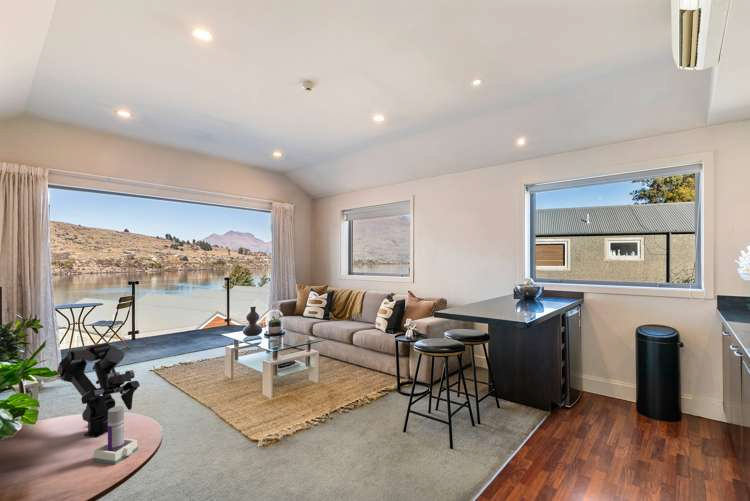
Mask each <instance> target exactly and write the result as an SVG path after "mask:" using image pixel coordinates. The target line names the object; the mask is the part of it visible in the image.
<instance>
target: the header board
mask: <svg viewBox="0 0 750 501" xmlns="http://www.w3.org/2000/svg"><path fill="white" fill-rule="evenodd" d="M137 451H139V446H138V440H137V439H132V438H131V439H130V438H125V437H124V447H123V448H121V449H120V450H118V451H116V452H112V451H108V442H107V443H105V444H103V445H102V446H100V447H98V448H97V449H95V450H94V451H93V453H94V455H93V456H94V457H93V460H92V461H93V462H97V463H103V464H108V465H109V464H111V465H117V464H118V463H120V462H122V461H123V460H125V459H126V458H127V457H129V456H131V455H132V454H134V453H136V452H137Z"/></svg>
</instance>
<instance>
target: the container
mask: <svg viewBox="0 0 750 501" xmlns="http://www.w3.org/2000/svg"><path fill="white" fill-rule="evenodd" d="M124 438H125V407H124V406H122V405H118V406H115V407H113V408H111V409H109V410H108V432H107V443H108V451H112V452H116V451H118V450H120V449H121V448H123V447H124Z"/></svg>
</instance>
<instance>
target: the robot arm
mask: <svg viewBox="0 0 750 501" xmlns="http://www.w3.org/2000/svg"><path fill="white" fill-rule="evenodd" d="M124 358H125V353H124V351H123V350H121V349H119V348H116V346H115V345H113V346H111V344H110V343H108V342H103V343H99V344H95V345H90V346H87V347H85V348H77V349H73V350H70V351H68V352H67V353H66V356H65V357H64V358H63V359H62V360H61V361H60V362H59V364H58V367H57V369H56V370H57V371H56V373H57V372H58V373H59V374H60V376H58V377H59V379H61V380H62V381H63V382H65V383H66V382H67V383H71V384H72V385H73V386H74V388H75V389H76V391H78V393H79V395H80V396H81V400H80V401H81V403H82V405H85V404H86V406H85V409H84V411H82V414H81V416H82V417H81V418H82V420H83V421H84V422H87V432H85V433H83V436H87V437H94V438H95V437H96V438H99V437H100V436H102V435H103V434H105V433H108V410H109V409H111V408H113V407H116V400H115V399H114V398H113V397H112V394H117V393H119V394H121V395H120V399H121V400H122V401H123V404H124V405H125V407H126V408H127V410H128V411H131V410H132V408H133V397H134V393H135V392H136V391H137V390H138V388H139V387H140V383H139V381H138V380H133V379H135V376H136V375H135V372H134V370H133V369H132V370H125V373H120V372H119V371H118V372H117V371H116V367H117V366H118V365H119V364H120V363H121V362H122V361H123V360H124ZM75 360H76V361H75ZM97 360H98V361H97ZM88 362H94V365H93V366H92V370H94V372H95V375H96V378H97V380H96V381H95V384H96V385H99V387H96V385H94V383H93V382H92V381H91V380H90V378H89V376H87V375H86V374H85V370H86V368H87V367H86V366H87V364H88Z"/></svg>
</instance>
